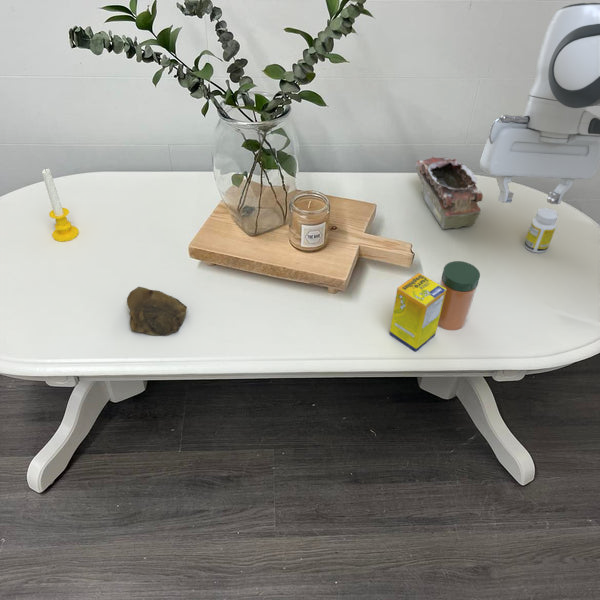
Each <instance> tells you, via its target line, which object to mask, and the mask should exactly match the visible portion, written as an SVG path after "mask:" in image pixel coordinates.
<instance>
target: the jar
mask: <svg viewBox="0 0 600 600" xmlns="http://www.w3.org/2000/svg"><path fill="white" fill-rule="evenodd" d="M439 285H441V286H442V287H444V288H446V294H445V298H444V302H443V306H442V310H441V314H440V318H439V321H438V325H437V327H440V328H441V329H443V330H448V331H457V330H460V329H462V328H463V327H465V325H466V323H467V319H468V317H469V313H470V311H471V307H472V304H473V300H474V296H475V293H476V291H477V287H478V286H477V287H476V288H474V289H473V290H470V291H457V290H454V289H451V288H449V287H448V286H447V285H445V284H444V282H443V280H442V277H441V278H440V283H439Z"/></svg>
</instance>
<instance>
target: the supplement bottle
mask: <svg viewBox="0 0 600 600" xmlns="http://www.w3.org/2000/svg"><path fill="white" fill-rule="evenodd" d="M558 217H559V214H558V212H557V211H556V210H554V209H552V208H550V207H540V208H538V209H537V211H536V214H535V216H534V217H533V218H532V219H531V222H530V225H529V228H528V230H527V235H526V237H525V240H524V243H523V244H524V247H525V248H526V249H527V250H528V251H530V252H532V253H537V254H543V253H545V252H546V251H547V250H548V248H549V246H550V244H551V241H552V238H553V236H554V233H555V230H556V228H557V220H558Z"/></svg>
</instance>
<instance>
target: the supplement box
mask: <svg viewBox="0 0 600 600" xmlns="http://www.w3.org/2000/svg"><path fill="white" fill-rule="evenodd" d="M445 294H446V288H444V287H442V286H441V285H440V283H437V282H436V281H434V280H432V279H430V278H429V277H427V276H425V275H424V274H422V273H420V272H417V273H416V274H415V275H413V276H412V277H410V278H409V279H408V280H406V281H405V282H404V283H402V284H401V285H400V286H398V287H397V288H396V295H395V300H394V306H393V311H392V317H391V321H390V328H389V335H390V336H391V337H392V338H394V339H396V340H397V341H398V342H400V343H401V344H403V345H405V346H406V347H407V348H409V349H410V350H412V351H413V352H417V351H418V350H420V349H421V348H422V347H423V346H424V345H426V344H427V343H429V341H431V339H432V338H434V337H435V336H436V333H437V329H438V321H439V318H440V314H441V310H442V306H443V302H444V298H445Z"/></svg>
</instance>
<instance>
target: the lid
mask: <svg viewBox="0 0 600 600" xmlns="http://www.w3.org/2000/svg"><path fill="white" fill-rule="evenodd" d="M441 278H442V280H443V282H444V284H445V285H447V286H448V287H449V288H451V289H454V290H457V291H470V290H473V289H474V288H476V287H478V286H479V281H480V278H481V273H480V271H479V269H478V268H477V267H476V266H474V264H471V263H469V262H466V261H462V260H461V261H460V260H453V261H450V262H448V263H446V264H445V266H444V267H443V271H442V274H441ZM476 289H477V288H476Z"/></svg>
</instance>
